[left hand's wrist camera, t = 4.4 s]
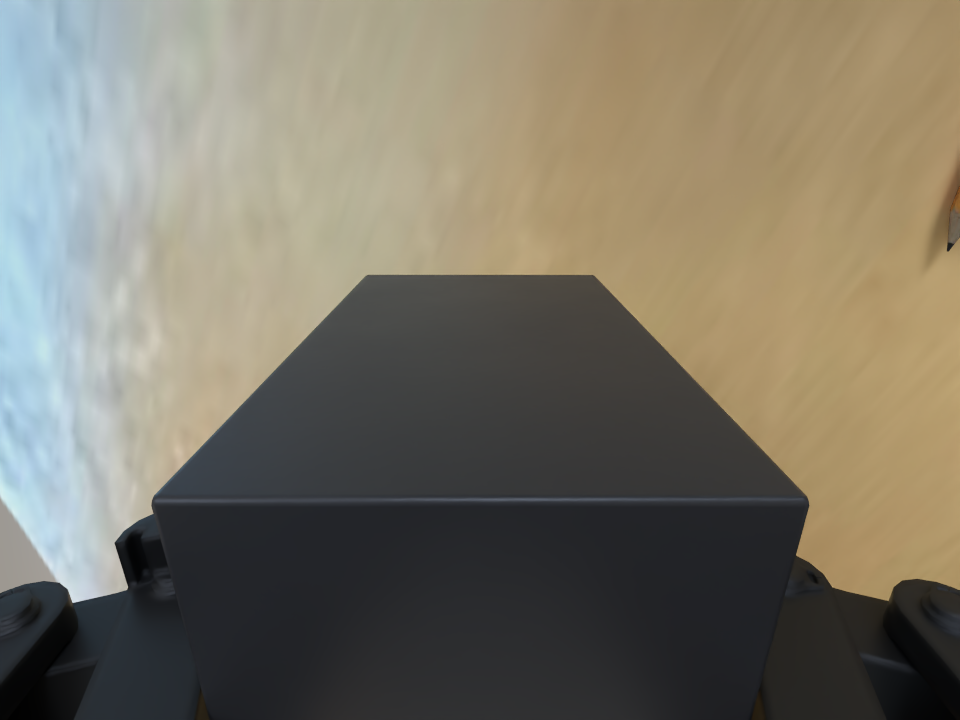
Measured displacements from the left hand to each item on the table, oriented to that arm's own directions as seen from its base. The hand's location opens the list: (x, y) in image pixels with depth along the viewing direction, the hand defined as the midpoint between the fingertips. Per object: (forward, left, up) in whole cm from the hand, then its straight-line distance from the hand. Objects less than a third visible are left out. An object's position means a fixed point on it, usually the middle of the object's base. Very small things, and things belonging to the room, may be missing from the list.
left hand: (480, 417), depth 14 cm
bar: (+10, +3, -1) cm, 11 cm away
